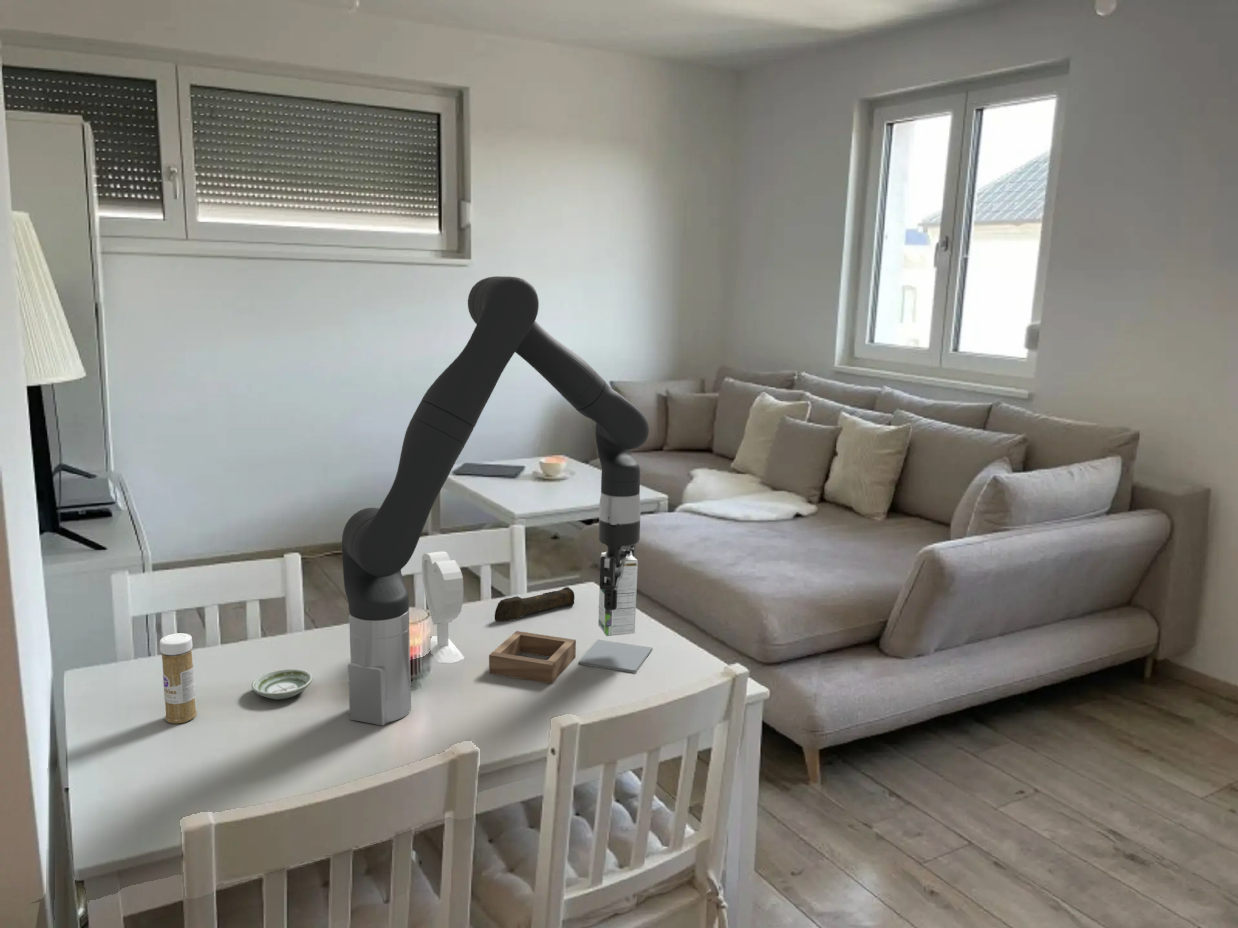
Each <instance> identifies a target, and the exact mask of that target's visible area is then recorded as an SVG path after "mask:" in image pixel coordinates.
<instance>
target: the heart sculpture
mask: <svg viewBox="0 0 1238 928" xmlns="http://www.w3.org/2000/svg"><path fill="white" fill-rule="evenodd" d="M459 566H460V565H458V562H457V561H456V560H455V559H450V556H449V553H448V552H446V551H434V552H427V553H426V552H425V553H423V554H422V556H421V574H422V575H421V576H422V584H423V590H424V596H425V600H426V604H427V607H428V610H429V613H430V617H431V621H432V624H433V626H435V625H436V635H432V638H431V652H430V653H431V655H432V656H433V657H434V659H435V660H436V662H437V664H438V663H439V664H451V663H452V664H453V663H457V662H459V661H463V660H464V659H465V656H464V655H463V654H462V652H461V651H460V650H459V648H457V647H456V645H455V644H454V643H453V640H451V639H450V637H449V623H452V622H453V621H454V620H456V618H458V617H459V615H460V613H461V611H462V607H463V604H464V603H463V602H464V590H465V589H464V578H463V577H464V576H463V572H462V570H461V568H460V567H459Z"/></svg>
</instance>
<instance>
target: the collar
mask: <svg viewBox="0 0 1238 928" xmlns="http://www.w3.org/2000/svg"><path fill="white" fill-rule="evenodd" d="M576 652H577V640H576V639H573V638H572V639H571V638H567V637H566V638H565V637H560V636H553V635H546V634H539V633H533V632H526V631H519V630H516V631H515V632H514V633H512V634H511V635H510V636H509V637H508V638H507V639H505V640H504V641H503V642H502V643H501V644H500V645H499V646H497V648H495V649H494V650H493V651H492V652H491V653H489V655H488V673H489V674H491V675H496V676H501V677H509V678H515V679H521V680H527V681H532V682H538V683H545V684H550V685H552V684H553V683H555V681H556V680H557V679H558V678H559V677H560V676H561V675H562V673H563V672H564V671H566V669H568V667H569V665H570V664H571V663H572V662H573V661H574V660H575V659H576ZM520 653H523V654H528V655H537V656H542V657H547V658H548V659H547V660H546V659H539V658H534V657H528V656H527V657H526V656H523V655H522V656H521V655H519V654H520Z"/></svg>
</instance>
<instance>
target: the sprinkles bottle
mask: <svg viewBox="0 0 1238 928" xmlns="http://www.w3.org/2000/svg"><path fill="white" fill-rule="evenodd" d="M159 652H160V654H161V659H162V660H161V661H162V673H163V674H162V678H163V679H162V681H163V682H162V683H163V693H164V694H163V697H164V703H165V716H164V717H165V720H166V722H168V723H169V724H184V723H186V722H189V721H191V720H193V719H195V718H196V717H197V715H198V714H197V713H198V712H197V708H196V689H195V688H196V686H195V673H194V663H193V653H192V652H193V637H192V635H190V634H189V633H184V632H183V633H181V632H180V633H179V632H178V633H171V634H168V635H164V636H163V637H161V639H160V640H159Z"/></svg>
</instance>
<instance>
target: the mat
mask: <svg viewBox="0 0 1238 928" xmlns="http://www.w3.org/2000/svg"><path fill="white" fill-rule="evenodd" d="M652 651H653V647H650V646H644V645H637V644H630V643H623V642H618V641H611V640H604V639H597V640H596V641H595V642H594V643H593V644H592V645H591V647H590V648H589V649H588V650H587V651H586V652H585V654H583V656H581V658H580V659H579V660H578V665H583V666H590V667H596V668H602V669H609V670H614V671H619V672H620V671H622V672H628V673H634V674H636V673H638V671H639V670H640V668H641V667H642V665H643V664H644V663H645V662H646V659H647V658H648V657H649V655H650V654H651V652H652Z"/></svg>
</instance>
